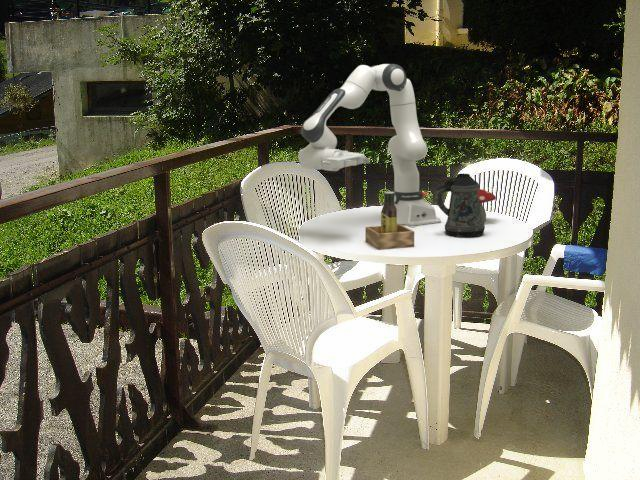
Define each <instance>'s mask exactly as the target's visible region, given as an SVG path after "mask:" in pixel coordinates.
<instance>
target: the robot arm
mask: <svg viewBox="0 0 640 480" xmlns="http://www.w3.org/2000/svg"><path fill="white" fill-rule="evenodd" d="M371 91H379V92H385V91H386V92H387V93H388V96H389V107H390V108H389V109H390V117H391V123H392V126H393V128H394V129H395V133H396V135H394V136H392V137H391V138H390V139H389V141H388V144H387V146H388V147H387V148H388V152H389V153H390V156H391V163H392V168H393V174H394V177H393V178H394V181H393V182H394V184H393V185H394V186H393V187H394V190H393V191H392V192H394V193H395V196H394V205H395V206H396V208H397V225H399V224H401V225H403V226H405V225H407V226H420V225H429V224H437V223H442V222H441V221H442V219H441V218H440V217H438V216H437V213H436V210H435V208H434V206H433V205H432V204H430V203H429V202H428V201H427V200H426V199H424V197H425V198H426V197H427V195H428V193H427V192H425V191H422V190H420V172H419V170H418V167H417V163H416V162H417V161H421V160H423V158H424V157H426V155H427V151H428V146H427V144H426V142H425V140H424V139H423V138H424V137H423V135H422V131H421V129H420V125H419V122H418V116H417V115H418V114H417V106H416V98H415V92H414V87H413V84H412V82H411V80H410V79H409V78H407V74H406V72H405V70H404V68H403V67H402V66H401V65H399V64H395V63H382V64H379V65H378V64H377V65H372V66H369V65H366V64H360V65H358V66H357V67H356V68H355V69H354V70H353V71H352V72H351V73H350V74H349V76H348V77H347V79H346V80H345V81H344V83H343V85H342V86H341V87H339V88H336V89H334V90H333V91H332V92H331V93H330V94H329V95H328V96H327V97H326V98H325V99H324V100H323V102H322V103H321V104H320V105H319V106H318V108H317V109H316V110H315V111H314V112H313V113H312V114H311V115H310V116H309V117H307V119H305V120H304V122H303V123H302V125H301V129H300V133H301V136H302V137H303V138H304V139H305V140H306V141H307V142H308V143H309V144H308V145H306V147H304V148H301V149H300V150H299V151H298V153H297V155H298V156H297V157H298V158H297V159H298V162H299V164H300V165H301V166H302V167H303V168H304V169H309V170H314V171H315V170H316V171H318V170H319V171H320V170H324V171H329V172H338V171H339V170H341V169H343V168H346V167H351V166H353V167H354V166H358V165H362V164H368V163H371V158H369V157H366V156H365V154H364V153H360V152H351V151H348V149H347V150H345V149H344V150H343V149H342V150H341V149H337V145H338V139H337V137H336V135H335V134H334V133H333V131H332V130H330V128H329V127H328V126H327V121H328V119H329V118H330V117H331V115H332V114H333V113H334V112H335V110H337V108H339V107H342V108H346V109H350V110H355V109H358V108H360V107H361V106H362V105H363V104H364V102H365V100H366V99H367V98H368V95H369V94H370V92H371Z"/></svg>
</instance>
